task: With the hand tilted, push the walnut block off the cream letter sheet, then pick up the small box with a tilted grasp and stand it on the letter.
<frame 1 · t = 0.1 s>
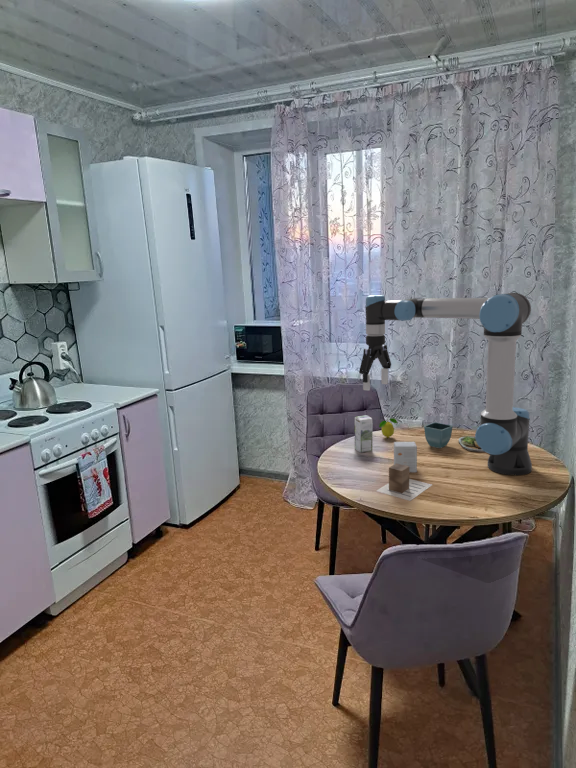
hand: (375, 387, 206), 28 cm above the table, tool pointing down, fingers open, 13 cm apart
letter: (404, 488, 176), on the table
lemon: (388, 438, 230), on the table
flower pot: (437, 446, 216), on the table
syrup box: (363, 450, 215), on the table
walnut block: (399, 489, 175), resting on letter
small box: (405, 470, 192), on the table
avocado toast plate: (480, 446, 215), on the table
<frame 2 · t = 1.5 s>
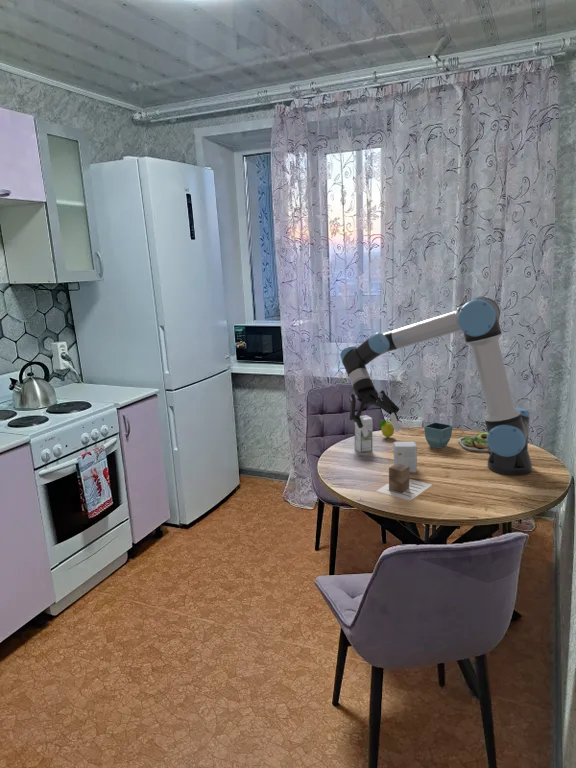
hand: (382, 432, 181), 18 cm above the table, tool tilted 45°, fingers open, 12 cm apart
nothing on the table moved.
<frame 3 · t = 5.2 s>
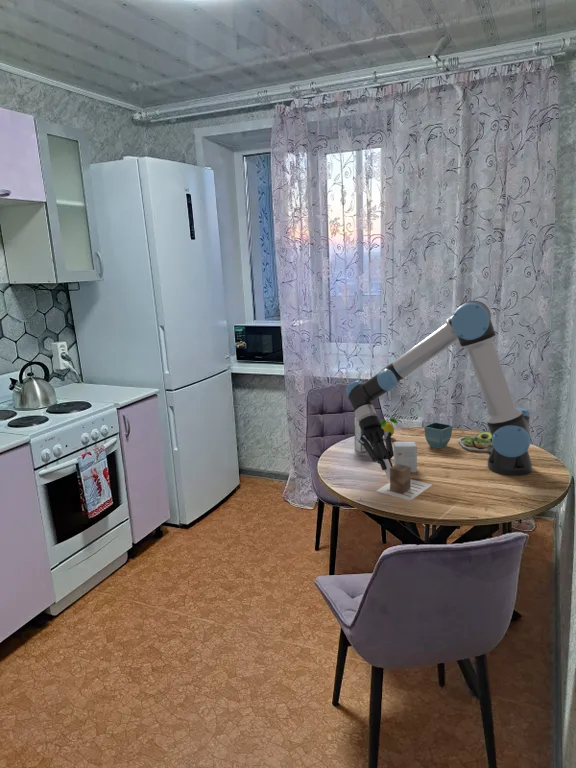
hand: (391, 477, 177), 3 cm above the table, tool tilted 45°, fingers closed
walnut block: (400, 489, 174), resting on letter, touching gripper
everything else where it was.
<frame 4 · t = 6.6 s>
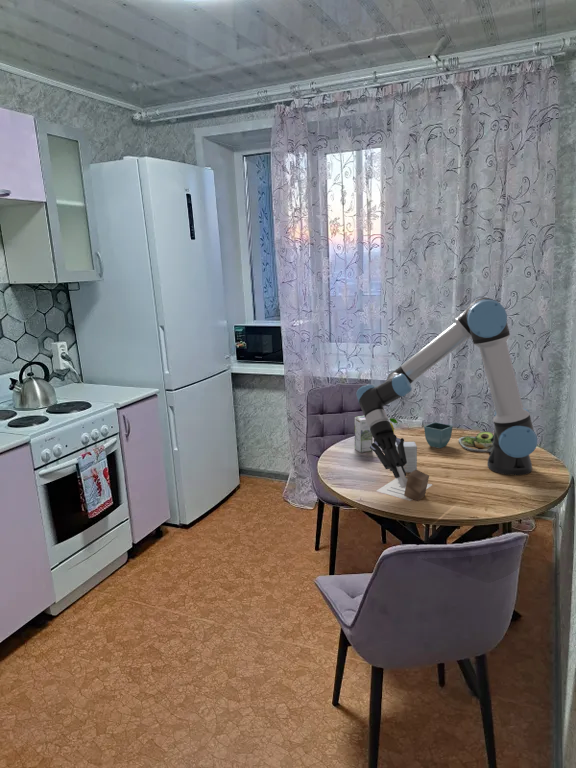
hand: (404, 486, 169), 3 cm above the table, tool tilted 45°, fingers closed
walnut block: (414, 496, 168), on the table, tilted 11°, touching gripper
everything else where it was.
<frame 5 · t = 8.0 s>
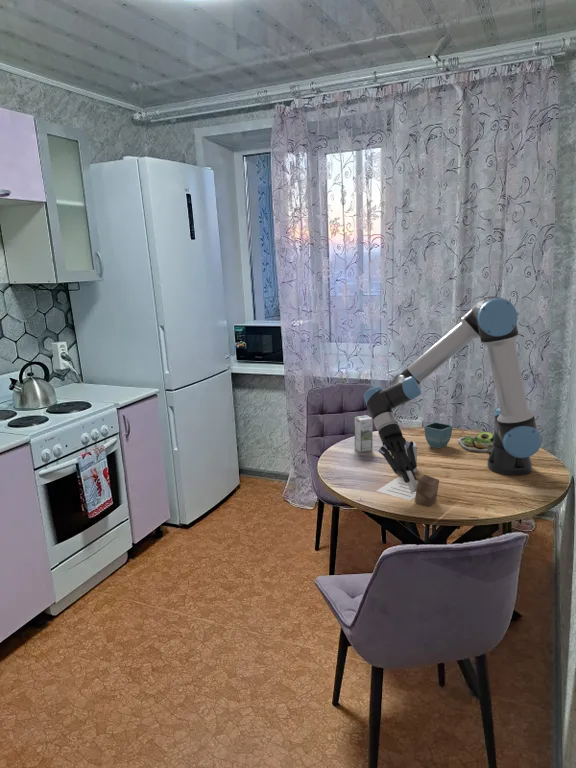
hand: (415, 490, 165), 4 cm above the table, tool tilted 45°, fingers closed
walnut block: (425, 502, 164), on the table, tilted 7°, touching gripper
everything else where it was.
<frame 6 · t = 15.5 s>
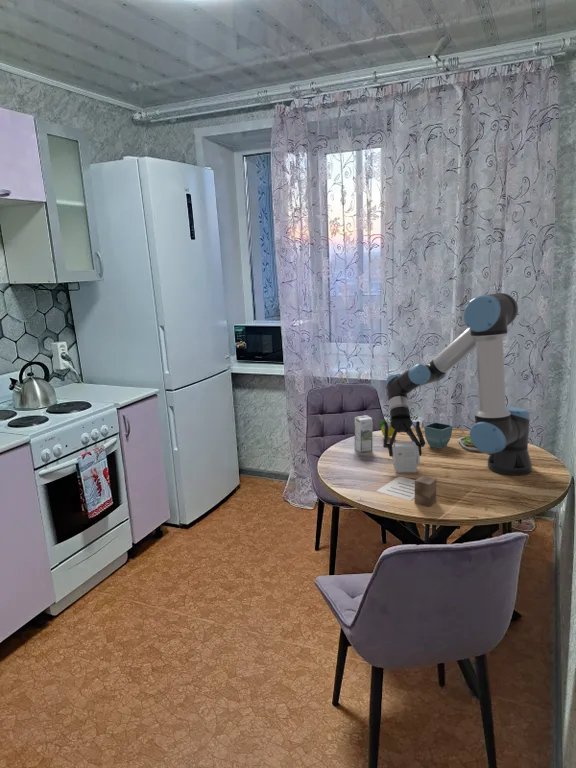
hand: (406, 463, 188), 4 cm above the table, tool tilted 45°, fingers closed on small box, 8 cm apart
walnut block: (425, 503, 164), on the table
small box: (405, 470, 192), on the table, touching gripper
everything else where it was.
when the fingers open (5 cm above the table, at t = 20.4 s): small box stays where it is, resting on letter.
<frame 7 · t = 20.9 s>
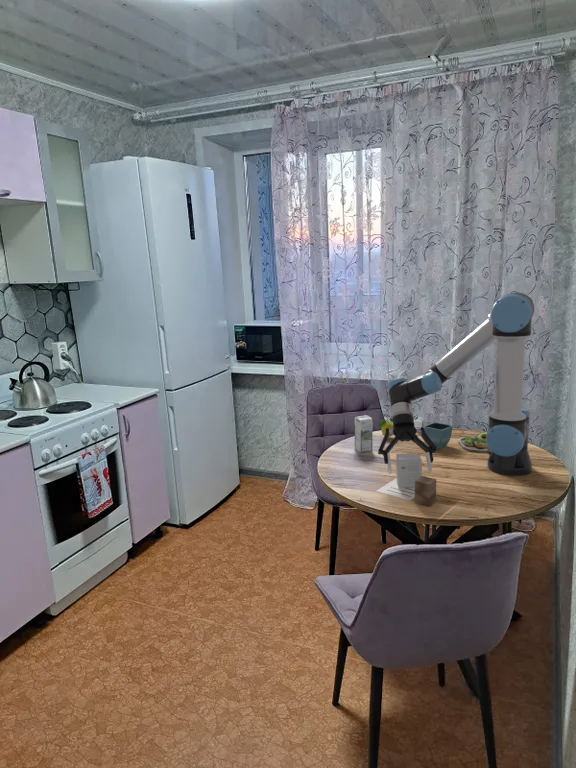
hand: (410, 471, 174), 6 cm above the table, tool tilted 45°, fingers open, 13 cm apart
small box: (408, 485, 178), resting on letter
everything else where it was.
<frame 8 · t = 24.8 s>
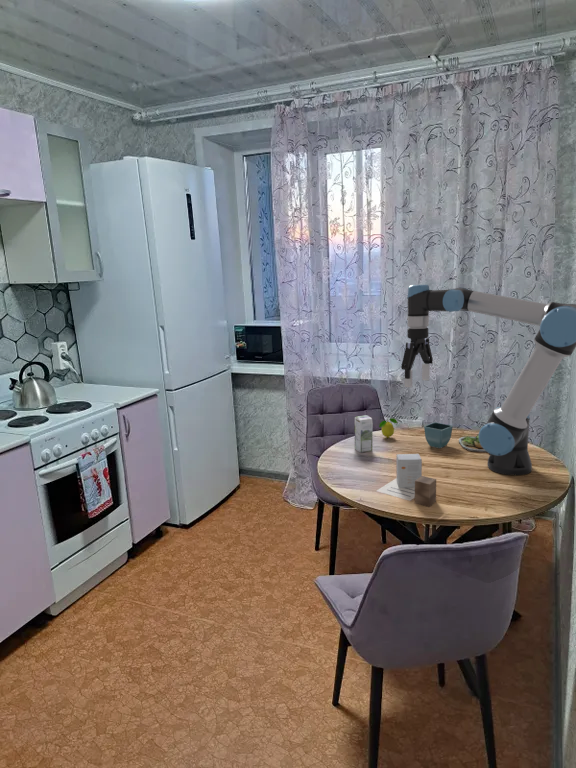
hand: (417, 383, 192), 32 cm above the table, tool pointing down, fingers open, 13 cm apart
nothing on the table moved.
at the end: small box inside the target area on the letter (3.0 cm from its centre), point 0.1 cm above the letter's base; small box tilted 0°; walnut block touching table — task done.
